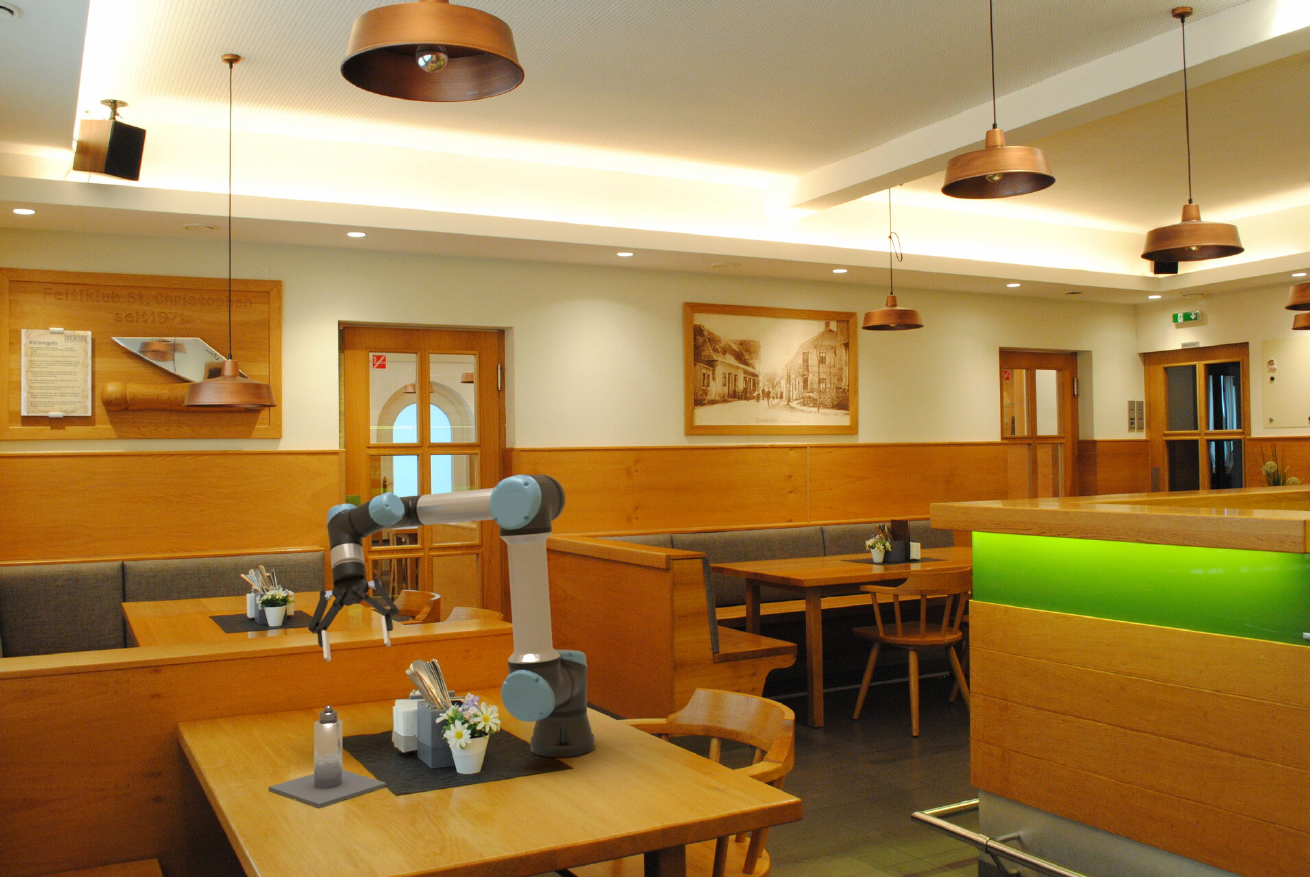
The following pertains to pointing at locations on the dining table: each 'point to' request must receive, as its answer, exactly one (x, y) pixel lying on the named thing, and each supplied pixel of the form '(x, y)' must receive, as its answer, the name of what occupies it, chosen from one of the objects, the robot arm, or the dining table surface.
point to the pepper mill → (328, 750)
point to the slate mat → (319, 798)
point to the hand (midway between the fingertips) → (357, 652)
